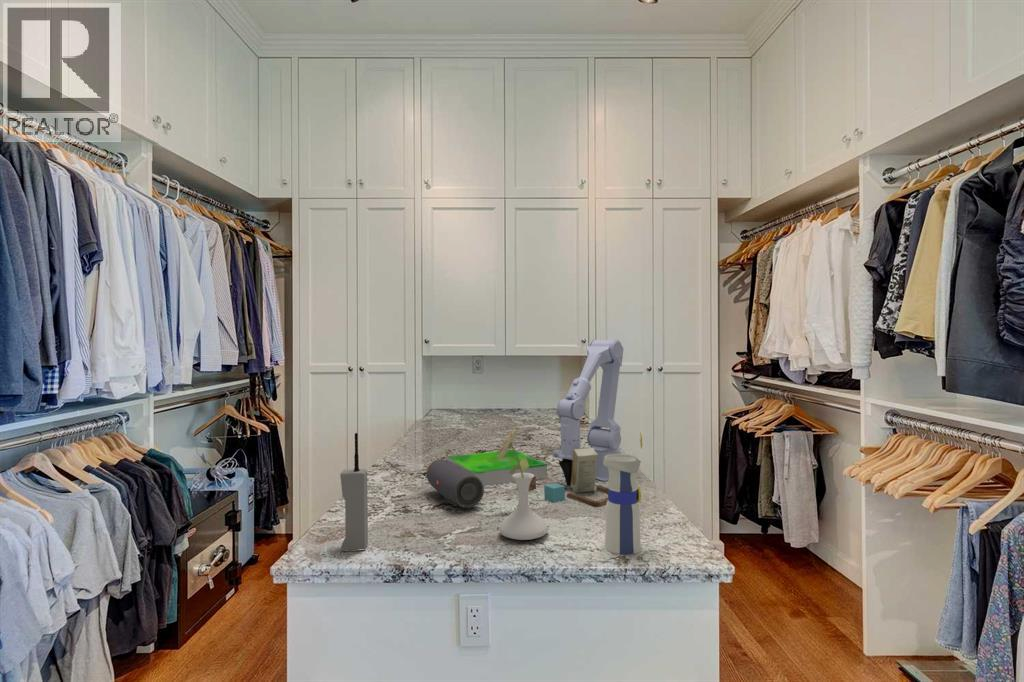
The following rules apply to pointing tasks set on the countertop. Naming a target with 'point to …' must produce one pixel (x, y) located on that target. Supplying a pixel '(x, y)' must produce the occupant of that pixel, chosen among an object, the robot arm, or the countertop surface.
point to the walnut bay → (590, 501)
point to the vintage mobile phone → (355, 505)
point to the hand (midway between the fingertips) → (570, 485)
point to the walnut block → (532, 483)
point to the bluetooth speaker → (455, 483)
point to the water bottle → (623, 504)
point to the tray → (498, 466)
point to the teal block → (554, 492)
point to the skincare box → (584, 470)
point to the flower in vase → (521, 502)
